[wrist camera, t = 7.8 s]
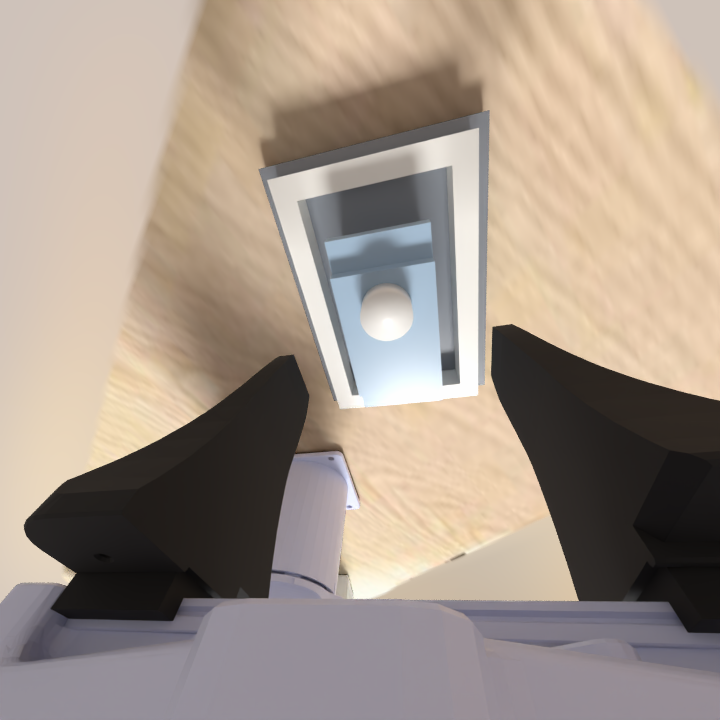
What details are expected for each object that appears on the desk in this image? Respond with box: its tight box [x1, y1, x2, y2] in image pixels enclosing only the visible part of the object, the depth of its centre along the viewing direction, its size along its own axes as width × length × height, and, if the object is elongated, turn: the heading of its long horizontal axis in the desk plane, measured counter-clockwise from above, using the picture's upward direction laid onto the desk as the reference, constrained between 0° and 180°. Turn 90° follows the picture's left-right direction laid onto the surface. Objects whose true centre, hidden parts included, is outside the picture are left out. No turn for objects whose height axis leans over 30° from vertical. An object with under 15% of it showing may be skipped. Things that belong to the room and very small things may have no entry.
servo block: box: [324, 219, 443, 407], centre depth 15 cm, size 4×8×6 cm, turn 11°
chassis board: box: [259, 110, 489, 409], centre depth 17 cm, size 10×14×2 cm
